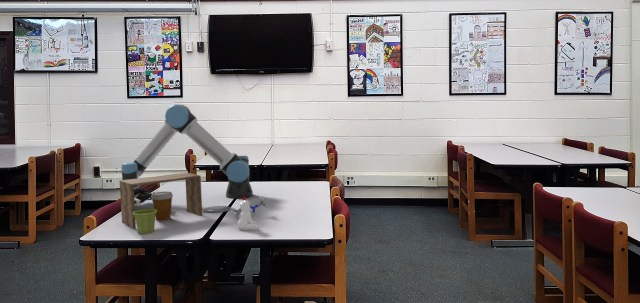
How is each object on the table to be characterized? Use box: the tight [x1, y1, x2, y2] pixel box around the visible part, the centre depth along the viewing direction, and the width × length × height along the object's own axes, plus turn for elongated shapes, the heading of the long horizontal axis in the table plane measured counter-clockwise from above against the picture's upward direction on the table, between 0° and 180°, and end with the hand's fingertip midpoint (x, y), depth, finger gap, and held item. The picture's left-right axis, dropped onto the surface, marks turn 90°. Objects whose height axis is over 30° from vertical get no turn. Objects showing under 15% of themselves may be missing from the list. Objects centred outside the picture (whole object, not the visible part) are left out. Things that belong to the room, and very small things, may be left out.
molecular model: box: [229, 195, 269, 220], centre depth 213 cm, size 18×8×10 cm, turn 111°
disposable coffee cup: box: [151, 191, 174, 221], centre depth 211 cm, size 10×10×12 cm
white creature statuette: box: [236, 200, 260, 231], centre depth 191 cm, size 10×9×12 cm
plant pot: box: [133, 208, 157, 235], centre depth 189 cm, size 9×9×9 cm
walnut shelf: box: [119, 172, 203, 229], centre depth 211 cm, size 14×32×19 cm, turn 132°
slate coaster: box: [202, 205, 232, 214], centre depth 229 cm, size 14×14×1 cm
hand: (154, 201), depth 218 cm, fingers open, 13 cm apart
